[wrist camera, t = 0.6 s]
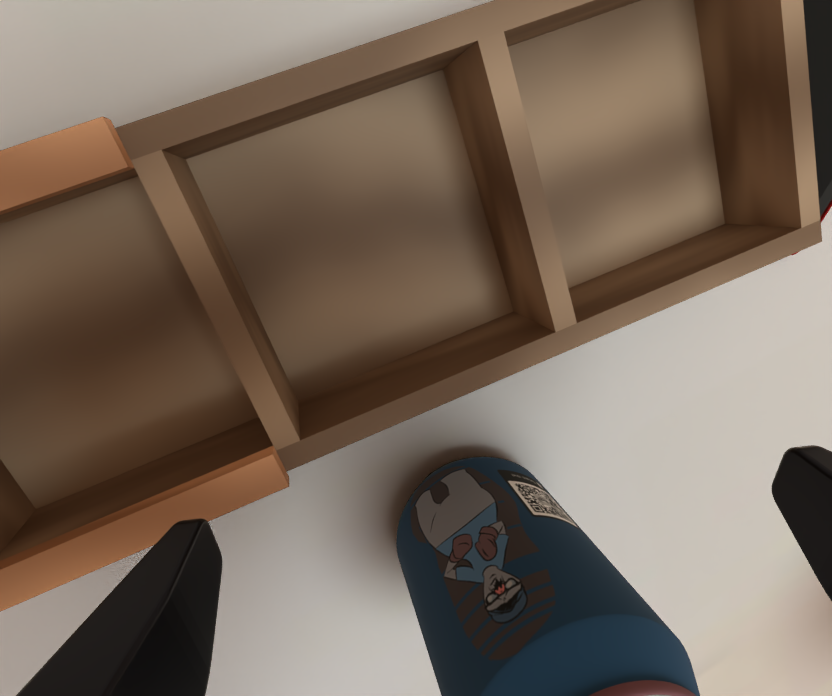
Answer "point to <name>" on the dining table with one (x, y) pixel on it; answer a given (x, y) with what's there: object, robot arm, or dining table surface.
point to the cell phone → (821, 92)
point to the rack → (370, 249)
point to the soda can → (525, 594)
